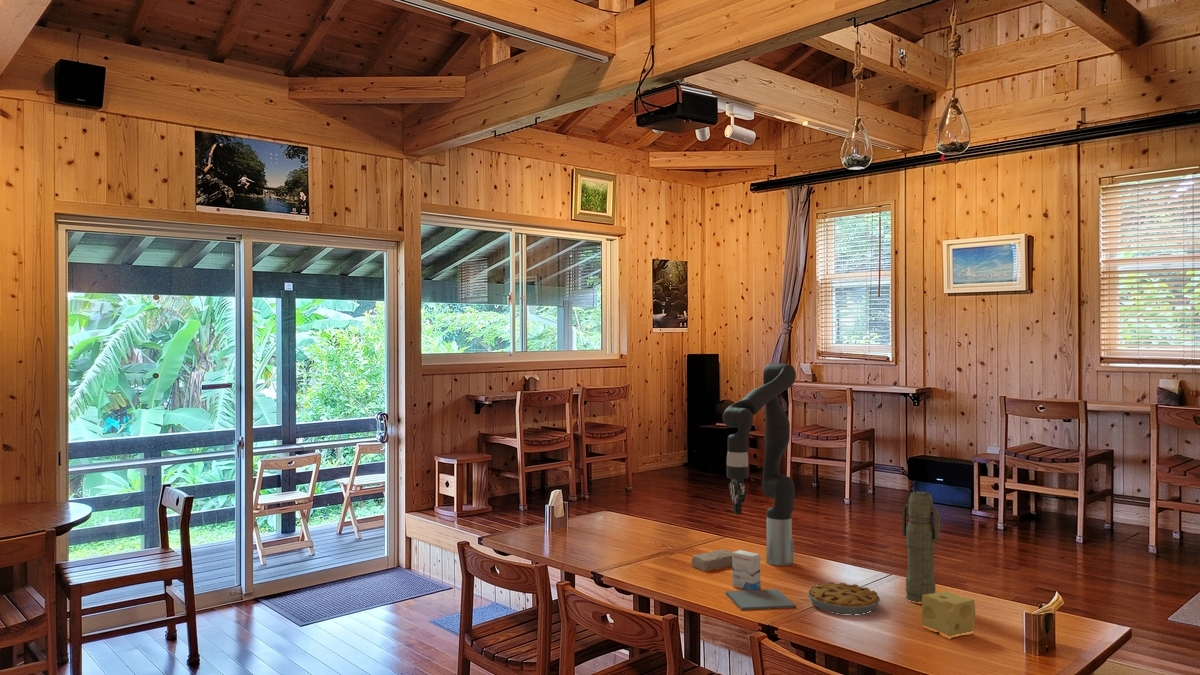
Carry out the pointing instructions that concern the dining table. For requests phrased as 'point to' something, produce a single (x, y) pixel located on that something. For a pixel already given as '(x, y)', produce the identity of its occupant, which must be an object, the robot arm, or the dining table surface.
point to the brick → (712, 560)
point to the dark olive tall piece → (920, 544)
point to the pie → (843, 598)
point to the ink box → (746, 570)
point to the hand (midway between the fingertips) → (737, 513)
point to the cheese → (948, 613)
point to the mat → (760, 599)
